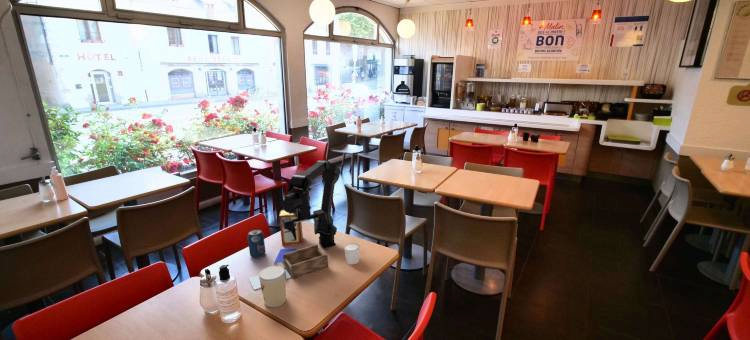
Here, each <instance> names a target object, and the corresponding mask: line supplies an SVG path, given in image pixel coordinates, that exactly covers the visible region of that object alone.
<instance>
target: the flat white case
mask: <svg viewBox="0 0 750 340" xmlns="http://www.w3.org/2000/svg"><path fill="white" fill-rule="evenodd" d="M276 266H281V267H283V268H284V270H285V280H286V281H287V280H289V279H292V278H291V276H290V275H289V273H288V272H287V270H286V269H285V267H284V265H283V264H282V262H280V263H277V265H276ZM248 281H249V283H250V284H251V287H252V290H253V291H257V290H261V284H260V280H259V274H258V275H256V276H253V277H249V278H248Z"/></svg>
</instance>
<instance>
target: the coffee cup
mask: <svg viewBox="0 0 750 340" xmlns="http://www.w3.org/2000/svg"><path fill="white" fill-rule="evenodd" d="M258 275H259V280H260V284H261V288H260V290H261V292H262V297H263V301H264V305H266V307H270V308H276V307H279V306H282V305H283V304H284V303H285V301H287V289H286V288H287V284H286V282H287V280H285V270H284V268H283V267H281V266H277V265H271V266H267V267H265V268H263V269H262V270H261V271H260V272H259V274H258Z"/></svg>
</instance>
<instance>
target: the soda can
mask: <svg viewBox="0 0 750 340" xmlns="http://www.w3.org/2000/svg"><path fill="white" fill-rule="evenodd" d="M247 242H248V243H247V244H248V249H249V250H248V252H249V256H250V257H251V258H252V259H260V258H263V257H264V256H265V255H266V245H265V238H264V232H263V231H262V230H261V229H259V228H254V229H251V230H249V231H248V234H247Z"/></svg>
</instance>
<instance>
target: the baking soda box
mask: <svg viewBox="0 0 750 340" xmlns="http://www.w3.org/2000/svg"><path fill="white" fill-rule="evenodd" d="M287 217H290V218H291V219H295V218H297V217H295V215H293V213H292V214H289V213H288V212H286V211H284V210H283V209H282V210H280V212H279V215H278V219H279V220H278V221H279V226H280V237H281V245H282V246H292V245H301V244H302V245H303V239H304V236H303V234H304V233H303V225H302V224H303V223H302V222H298V223H294V227H295V230H296V240H295V239H294V237H293V235H292V233H291V231H290V230H287V229H284V228H283V227H282V225H281V220H282V219H283V218H287Z"/></svg>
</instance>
